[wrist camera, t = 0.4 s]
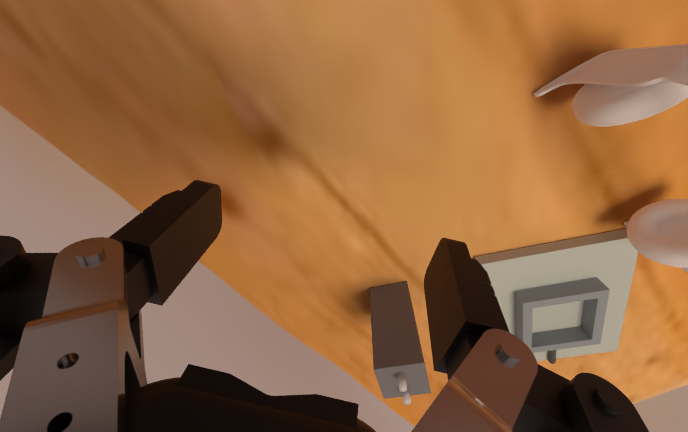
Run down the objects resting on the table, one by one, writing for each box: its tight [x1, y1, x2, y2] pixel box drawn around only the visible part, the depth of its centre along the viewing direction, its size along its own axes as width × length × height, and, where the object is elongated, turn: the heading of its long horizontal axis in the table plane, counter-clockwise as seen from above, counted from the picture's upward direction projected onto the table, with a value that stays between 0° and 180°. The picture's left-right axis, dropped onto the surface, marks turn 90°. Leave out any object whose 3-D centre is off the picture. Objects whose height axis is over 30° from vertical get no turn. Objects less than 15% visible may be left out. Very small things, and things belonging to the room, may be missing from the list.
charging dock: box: [475, 228, 638, 364], centre depth 36 cm, size 18×16×4 cm
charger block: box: [370, 281, 431, 405], centre depth 33 cm, size 5×5×12 cm
